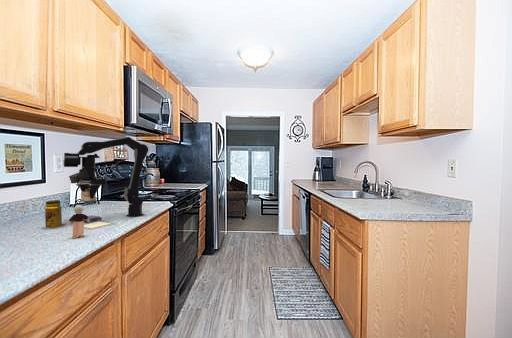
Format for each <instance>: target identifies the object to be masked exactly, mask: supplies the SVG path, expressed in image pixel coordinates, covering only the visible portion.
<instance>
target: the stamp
mask: <svg viewBox="0 0 512 338" xmlns="http://www.w3.org/2000/svg"><path fill="white" fill-rule="evenodd" d="M96 194H97V193H96ZM96 194H95V196H94V198H93V199H91V198H90V189H85V191H80V202H81V203H91V202H92V203H93V202H96V201H97V199H96V198H97V197H96V196H97V195H96Z"/></svg>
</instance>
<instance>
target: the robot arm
mask: <svg viewBox="0 0 512 338" xmlns="http://www.w3.org/2000/svg"><path fill="white" fill-rule="evenodd" d="M119 146H127V147H128V148H130V149H131V150H132V151H133V156H134V161H133V167H132V171H131V172H132V173H131V176H130V180H129V181H130V182H129V185H128V187H124V193H123V196H124V200H125V201H127V202H128V207H127V210H128V212H127V214H126V216H127V217H135V218H136V217H140V216H144V215H145V213H143V203H144V200H143V199H142V198H140V197H139V196H140V195H139V194H140V192H139V183H140V179H141V173H142V168H143V163H144V161H145V159H146V157H147V154H148V152H149V147H148V145H146V144H143V143H141V142H139V141H136V140H135V139H133V138H131V137H129V136H125V137H122V138H117V139H116V138H115V139H110V140H105V141H86V142H84V143H82V144H81V146H80V150H78V152H77V153H76V152H73V153H69V152H64V153H63V154H64V155H63V159H62V160H63V161H62V162H63V167H64V168H79V166H81V168H80V169H78V172H76V173H74V174H72V175H71V174H70V175H69V176H68V177H69V180H70V184H75V185H76V186H77V187H79V189H80V192H82V191H85V189H90V198H91V199H93V198H94V196H95V194H97V192H98V190H99V189H100V187H101V186H102V185H107V179H106V178H99V177H98V176H96V172H98V169H97V168H96V159H100V158H101V157H100V156H99V155H98V154H97V153H95V152H98V151H101V150H104V149H108V148H113V147H119ZM93 153H94V154H93ZM85 155H86V156H85Z"/></svg>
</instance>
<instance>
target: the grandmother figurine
mask: <svg viewBox="0 0 512 338" xmlns="http://www.w3.org/2000/svg"><path fill="white" fill-rule="evenodd" d="M83 211H84V206H82V205H80V204H77V205H75V207H74V208H73V212H74V214H73V215H72V216H71V217H70V218H69V219H68V222H67V224H66V226H70V225H71V224H73V225H72V237H71V239H77V238H84V237H85V234H84V233H85V229H84V224H85V223H84V221H83V219H85V220H87V223H91V222H90V220H89V218H88V216H89V215H86V214H85V213H83ZM72 221H74V222H72Z"/></svg>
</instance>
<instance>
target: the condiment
mask: <svg viewBox="0 0 512 338" xmlns="http://www.w3.org/2000/svg"><path fill="white" fill-rule="evenodd" d="M45 206H46V207H45V208H44V215H45V216H44V217H45V218H44V220H45V222H44V223H45V224H44V225H45V227H42V230H45V229H58V228H59V229H60V228H62V227H65V226H67V224H68V222H67V223H63V222H62V221H63V219H62V216H63V214H62V205H61V200H59V199H55V200H53V199H51V200H47V201H45Z"/></svg>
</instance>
